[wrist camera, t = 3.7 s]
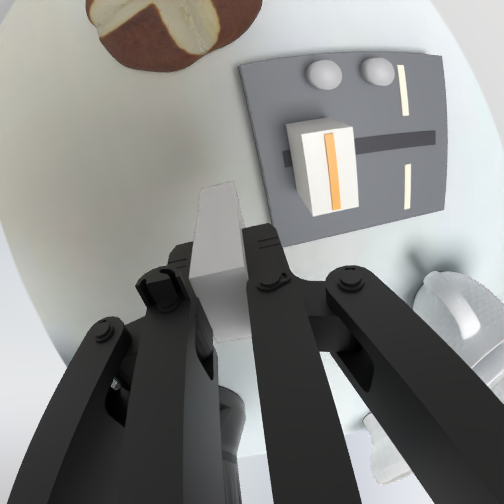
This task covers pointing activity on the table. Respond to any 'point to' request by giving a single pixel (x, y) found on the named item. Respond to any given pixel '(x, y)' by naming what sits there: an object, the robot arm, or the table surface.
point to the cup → (385, 455)
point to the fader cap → (324, 164)
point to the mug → (465, 320)
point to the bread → (168, 29)
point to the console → (364, 130)
